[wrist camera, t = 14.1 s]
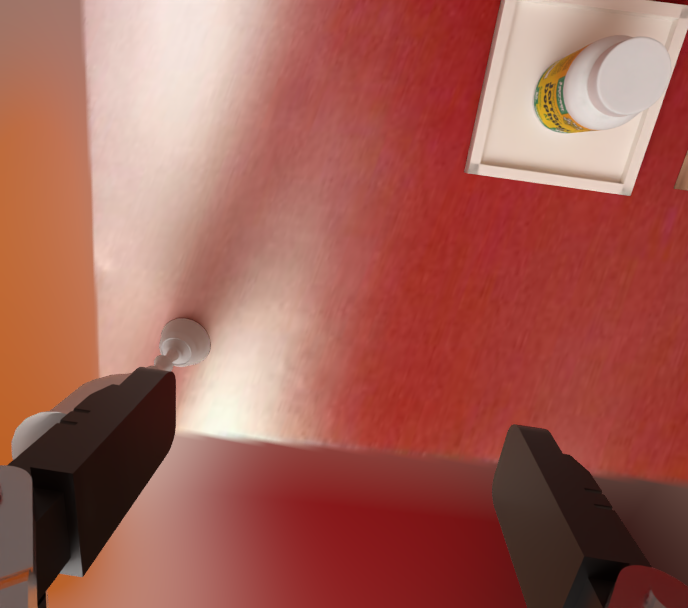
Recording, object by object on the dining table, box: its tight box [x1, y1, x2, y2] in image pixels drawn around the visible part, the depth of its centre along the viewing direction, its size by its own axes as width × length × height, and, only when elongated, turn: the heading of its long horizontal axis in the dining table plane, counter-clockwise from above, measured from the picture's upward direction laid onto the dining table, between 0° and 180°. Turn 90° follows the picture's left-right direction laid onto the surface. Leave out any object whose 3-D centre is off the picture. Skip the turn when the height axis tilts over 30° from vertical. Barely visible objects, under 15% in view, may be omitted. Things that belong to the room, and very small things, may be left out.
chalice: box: [12, 318, 211, 460], centre depth 36 cm, size 7×7×18 cm
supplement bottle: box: [532, 35, 672, 133], centre depth 29 cm, size 5×5×10 cm
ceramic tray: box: [464, 0, 688, 196], centre depth 34 cm, size 13×13×2 cm
